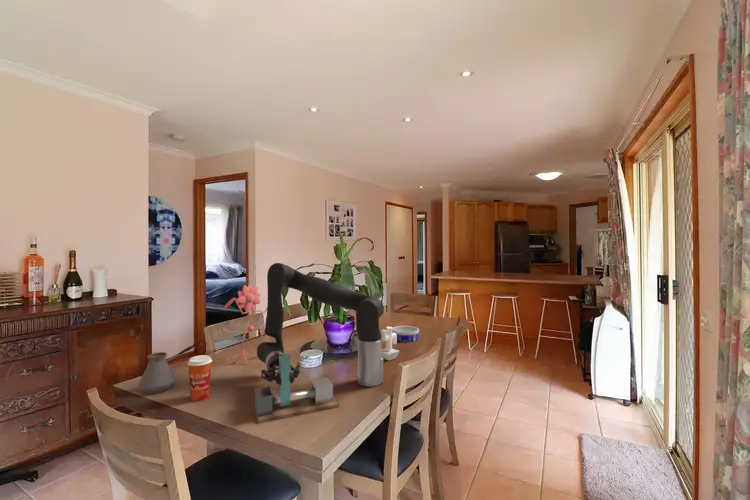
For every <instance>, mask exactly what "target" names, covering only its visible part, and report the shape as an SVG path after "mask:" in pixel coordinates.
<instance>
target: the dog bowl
mask: <svg viewBox="0 0 750 500" xmlns="http://www.w3.org/2000/svg"><path fill="white" fill-rule="evenodd" d="M392 333H396V335H397V341H400V342H399V343H402V342H412V343H414V342H413V341H416V342H418V341H419V340H420V329H419V328H418V327H415V326H410V325H398V326H394V327H393V326H392ZM418 339H419V340H418ZM417 340H418V341H417Z"/></svg>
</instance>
